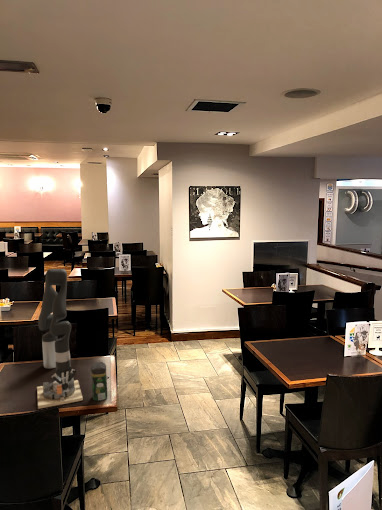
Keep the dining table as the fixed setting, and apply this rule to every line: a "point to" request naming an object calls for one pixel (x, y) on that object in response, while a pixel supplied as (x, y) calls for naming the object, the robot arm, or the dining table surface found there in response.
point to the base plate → (73, 397)
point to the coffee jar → (99, 381)
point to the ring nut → (57, 395)
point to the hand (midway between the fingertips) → (64, 389)
